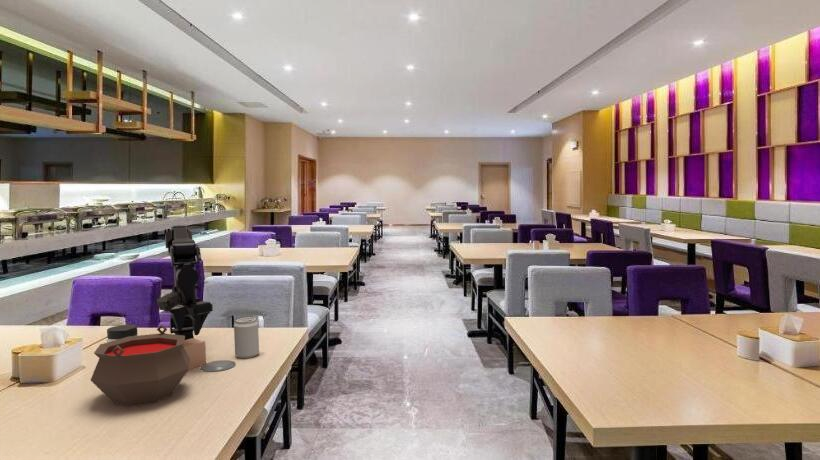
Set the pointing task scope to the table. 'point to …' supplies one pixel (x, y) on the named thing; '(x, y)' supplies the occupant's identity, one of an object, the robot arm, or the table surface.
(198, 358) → the peach beveled cube
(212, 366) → the coaster
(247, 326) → the can
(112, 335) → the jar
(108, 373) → the brown cauldron
